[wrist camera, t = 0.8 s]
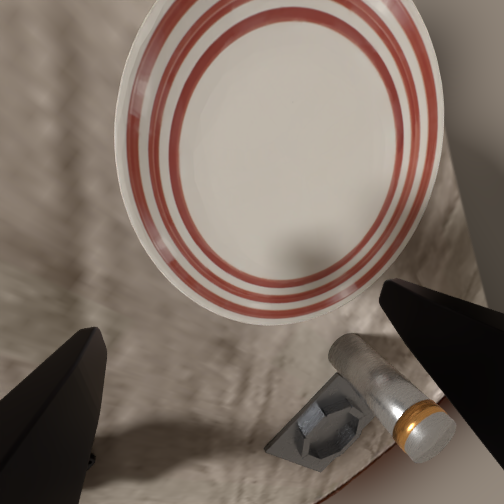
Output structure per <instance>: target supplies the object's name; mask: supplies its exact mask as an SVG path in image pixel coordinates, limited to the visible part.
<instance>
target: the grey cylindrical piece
mask: <svg viewBox="0 0 504 504" xmlns="http://www.w3.org/2000/svg"><path fill="white" fill-rule="evenodd" d="M328 359H329V362H330V363H331V364H332V365H333V367H334V368H335V369H336V370H337V371H338V372H339V374H340V375H341V376H342V377H343V378H344V380H345V381H346V382H347V383H348V384H349V385H350V387H351V388H352V389H353V390H354V391H355V393H356V394H357V395H358V396H359V397H360V399H361V400H362V401H363V402H364V403H365V404H366V406H367V407H368V408H369V409H370V410H371V412H372V413H373V414H374V415H375V416H376V417H377V419H378V420H379V421H380V422H381V423H382V425H383V426H384V427H385V428H386V429H387V431H388V432H389V433H390V434H391V435H392V436H393V439H394V440H395V442H396V443H397V444H398V445H399V446H400V448H401V449H402V450H403V451H404V452H405V453H406V454H407V455H409V457H410V458H411V459H412V460H413V461H414V462H415V463H423V462H426V461H428V460H430V459H431V458H433V457H434V456H436V455H437V454H438V453H439V452H440V451H441V450H442V449H443V448H444V447H445V446H446V445H447V444H448V443H449V441H450V440H451V438H452V437H453V435H454V433H455V430H456V423H455V421H454V420H453V419H451V418H450V417H449V416H448V414H447V413H446V412H445V411H444V410H443V409H442V408H441V407H439V406H438V405H437V404H436V403H435V402H434V401H433V400H430V399H429V398H428V397H427V396H426V395H424V394H423V393H422V392H421V391H420V390H419V389H418V388H417V387H416V386H414V385H413V384H412V383H411V382H410V381H409V380H408V379H407V378H405V377H404V376H403V375H402V374H401V373H400V372H399V371H398V370H396V369H395V368H394V367H393V366H392V365H391V364H390V363H389V362H387V361H386V360H385V359H384V358H383V357H382V356H381V355H380V354H378V353H377V352H376V351H375V350H374V349H373V348H372V347H371V346H370V345H368V344H367V343H366V342H365V341H364V340H363V339H362V338H361V337H359V336H358V335H357V334H354V333H349V334H345V335H343V336H341V337H340V338H339V339H337V340H336V341H335V342H334V344H333V345H332V346H331V348H330V350H329V354H328Z"/></svg>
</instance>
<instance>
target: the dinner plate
mask: <svg viewBox="0 0 504 504" xmlns="http://www.w3.org/2000/svg"><path fill="white" fill-rule="evenodd" d="M443 131H444V102H443V91H442V82H441V77H440V72H439V67H438V62H437V58H436V55H435V51H434V48H433V45H432V42H431V39H430V37H429V34H428V31H427V28H426V26H425V24H424V22H423V20H422V17H421V16H420V14H419V12H418V10H417V8H416V7H415V5H414V3H413V1H412V0H157V1H156V2H155V4H154V5H153V7H152V8H151V10H150V11H149V13H148V15H147V16H146V18H145V20H144V21H143V23H142V25H141V27H140V29H139V31H138V33H137V35H136V38H135V40H134V42H133V44H132V47H131V50H130V52H129V55H128V58H127V61H126V64H125V67H124V71H123V74H122V78H121V82H120V88H119V93H118V99H117V104H116V112H115V124H114V147H115V160H116V168H117V175H118V181H119V186H120V190H121V194H122V198H123V201H124V205H125V208H126V211H127V213H128V216H129V219H130V222H131V224H132V226H133V228H134V230H135V232H136V234H137V236H138V238H139V241H140V242H141V244H142V246H143V247H144V249H145V251H146V252H147V254H148V255H149V257H150V258H151V260H152V261H153V262H154V264H155V265H156V266H157V268H158V269H159V270H160V271H161V273H162V274H163V275H164V276H165V277H166V278H167V279H168V280H169V281H170V282H171V283H172V284H173V285H174V286H175V287H176V288H177V289H178V290H179V291H181V292H182V293H183V294H184V295H186V296H187V297H188V298H190V299H191V300H193V301H194V302H196V303H197V304H199V305H200V306H202V307H204V308H206V309H207V310H209V311H211V312H213V313H215V314H218V315H220V316H223V317H226V318H229V319H231V320H235V321H239V322H243V323H248V324H255V325H286V324H293V323H298V322H303V321H307V320H310V319H313V318H316V317H319V316H321V315H324V314H327V313H329V312H331V311H333V310H335V309H337V308H339V307H341V306H343V305H345V304H346V303H348V302H350V301H351V300H353V299H354V298H356V297H357V296H358V295H360V294H361V293H362V292H364V291H365V290H366V289H367V288H369V287H370V286H371V285H372V284H373V283H374V282H375V281H377V280H378V279H379V278H380V277H381V276H382V275H383V274H384V273H385V271H386V270H387V269H388V268H389V267H390V266H391V265H392V263H393V262H394V261H395V260H396V258H397V257H398V256H399V255H400V253H401V252H402V250H403V249H404V248H405V246H406V245H407V243H408V242H409V240H410V238H411V237H412V235H413V233H414V232H415V230H416V228H417V226H418V224H419V222H420V220H421V218H422V216H423V214H424V211H425V209H426V206H427V204H428V201H429V198H430V196H431V193H432V189H433V186H434V183H435V180H436V176H437V172H438V167H439V162H440V157H441V151H442V143H443Z"/></svg>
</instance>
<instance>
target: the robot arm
mask: <svg viewBox="0 0 504 504" xmlns="http://www.w3.org/2000/svg"><path fill="white" fill-rule="evenodd" d="M379 304H380V306H381V308H382V309H383V311H384V312H385V314H386V315H387V317H388V318H389V320H390V321H391V323H392V325H393V326H394V328H395V329H396V331H397V332H398V334H399V335H400V337H401V338H402V340H403V341H404V343H405V344H406V345H407V347H408V348H409V349H410V351H411V352H412V353H413V355H414V356H415V357H416V358H417V360H418V361H419V362H420V364H421V365H422V366H423V367H424V369H425V370H426V371H427V373H428V374H429V375H430V376H431V378H432V379H433V380H434V381H435V383H436V384H437V385H438V387H439V388H440V389H441V390H442V392H443V393H444V394H445V396H446V397H447V398H448V399H449V401H450V402H451V403H452V404H453V406H454V407H455V408H456V409H457V411H458V412H459V413H460V415H461V416H462V417H463V419H464V420H465V421H466V422H467V424H468V425H469V426H470V427H471V429H472V430H473V431H474V433H475V434H476V435H477V436H478V438H479V439H480V440H481V442H482V443H483V444H484V445H485V447H486V448H487V449H488V451H489V452H490V453H491V454H492V456H493V457H494V458H495V459H496V461H497V462H498V463H499V464H500V466H501V467H502V468H503V470H504V314H503V313H501V312H498V311H494V310H492V309H489V308H486V307H483V306H480V305H477V304H474V303H471V302H468V301H465V300H462V299H459V298H456V297H453V296H449V295H446V294H443V293H440V292H437V291H434V290H431V289H428V288H425V287H422V286H419V285H416V284H413V283H410V282H407V281H404V280H401V279H397V278H395V279H389V280H386V281H385V282H384V284H383V287H382V290H381V294H380V297H379ZM106 362H107V349H106V346H105V343H104V340H103V337H102V334H101V331H100V329H99V328H98V327H90V328H84V329H80V330H79V331H77V332H76V333H75V334H74V335H73V336H72V337H71V338H70V339H68V340H67V341H66V342H65V343H64V344H63V345H62V346H61V347H60V348H58V349H57V350H56V351H55V352H54V353H53V354H52V355H51V356H49V357H48V358H47V359H46V360H45V361H44V362H43V363H42V364H41V365H39V366H38V367H37V368H36V369H35V370H34V371H33V372H32V373H30V374H29V375H28V376H27V377H26V378H25V379H24V380H23V381H22V382H20V383H19V384H18V385H17V386H16V387H15V388H14V389H13V390H11V391H10V392H9V393H8V394H7V395H6V396H5V397H4V398H3V399H1V400H0V504H79V500H80V495H81V491H82V487H83V483H84V479H85V475H86V471H87V470H88V469H89V468H90V467H91V466H92V465H93V464H94V463H95V458H96V456H95V455H93V454H91V450H92V446H93V441H94V437H95V433H96V429H97V425H98V420H99V415H100V409H101V402H102V394H103V386H104V378H105V370H106Z"/></svg>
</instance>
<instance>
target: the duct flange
mask: <svg viewBox="0 0 504 504" xmlns="http://www.w3.org/2000/svg"><path fill="white" fill-rule="evenodd" d="M374 417H375V415H374V414H373V413H372V412H371V410H370V409H369V408H368V407H367V406H366V404H365V403H364V402H363V401H362V400H361V399H360V397H359V396H358V395H357V394H356V393H355V391H354V390H353V389H352V388H351V387H350V385H349V384H348V383H347V382H346V381H345V380H344V378H343V377H342V376H340V375H339V374H338V373H336V374H335V375H334V376H333V377H332V378H331V379H330V380H329V381H328V382H327V383H326V384H325V385H324V386H323V387H322V388H321V389H320V391H319V392H318V393H317V394H316V395H315V396H314V397H313V398H312V399H311V400H310V401H309V402H308V403H307V404H306V405H305V406H304V407H303V408H302V409H301V410H300V411H299V412H298V414H297V415H296V416H295V417H294V418H293V419H292V420H291V421H290V422H289V423H288V424H287V425H286V426H285V427H284V428H283V429H282V430H281V431H280V432H279V433H278V434H277V435H276V437H275V438H274V439H273V440H272V441H271V442H270V443H269V444H268V445H267V446H266V447H265V448H264V450H265V452H266V453H268V454H271V455H274V456H277V457H280V458H282V459H285V460H288V461H291V462H293V463H296V464H299V465H302V466H305V467H307V468H310V469H313V470H316V471H318V472H322V471H323V470H324V469H325V468H326V467H327V466H328V465H329V464H330V463H331V462H332V460H333V459H334V458H336V457H338V456H340V455H341V454H343V453H344V452H345V451H346V450H347V449H348V448H349V447H350V446H351V445H352V444H353V442H354V441H355V440H356V439H357V438H358V437H359V436H360V434H361V432H362V429H363V428H364V427H365V426H366V425H367V424H368V423H369V422H370V421H371V420H372V419H373V418H374Z"/></svg>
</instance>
